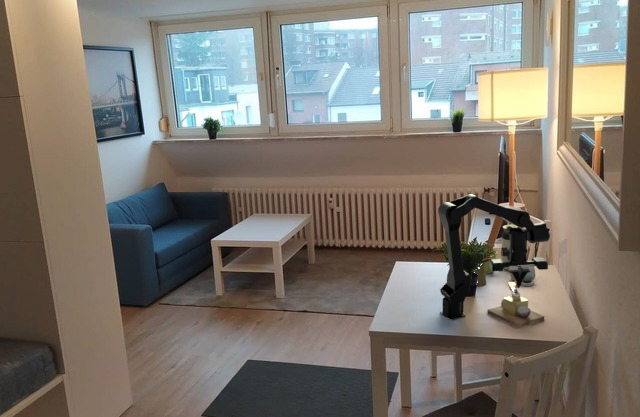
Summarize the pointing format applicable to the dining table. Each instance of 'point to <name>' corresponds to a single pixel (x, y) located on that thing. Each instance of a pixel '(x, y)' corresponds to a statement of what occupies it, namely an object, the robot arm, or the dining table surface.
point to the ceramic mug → (527, 276)
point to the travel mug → (506, 242)
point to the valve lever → (513, 289)
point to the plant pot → (486, 266)
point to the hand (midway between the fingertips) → (518, 287)
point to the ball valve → (516, 306)
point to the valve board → (515, 321)
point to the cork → (481, 275)
